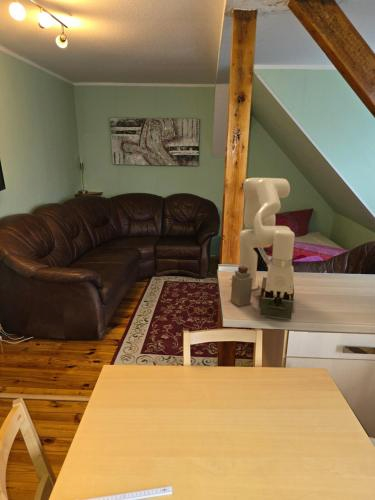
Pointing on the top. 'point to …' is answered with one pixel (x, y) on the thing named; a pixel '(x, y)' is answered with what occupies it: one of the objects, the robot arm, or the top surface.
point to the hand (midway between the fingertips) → (277, 305)
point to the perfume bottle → (241, 287)
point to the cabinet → (277, 291)
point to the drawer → (272, 311)
